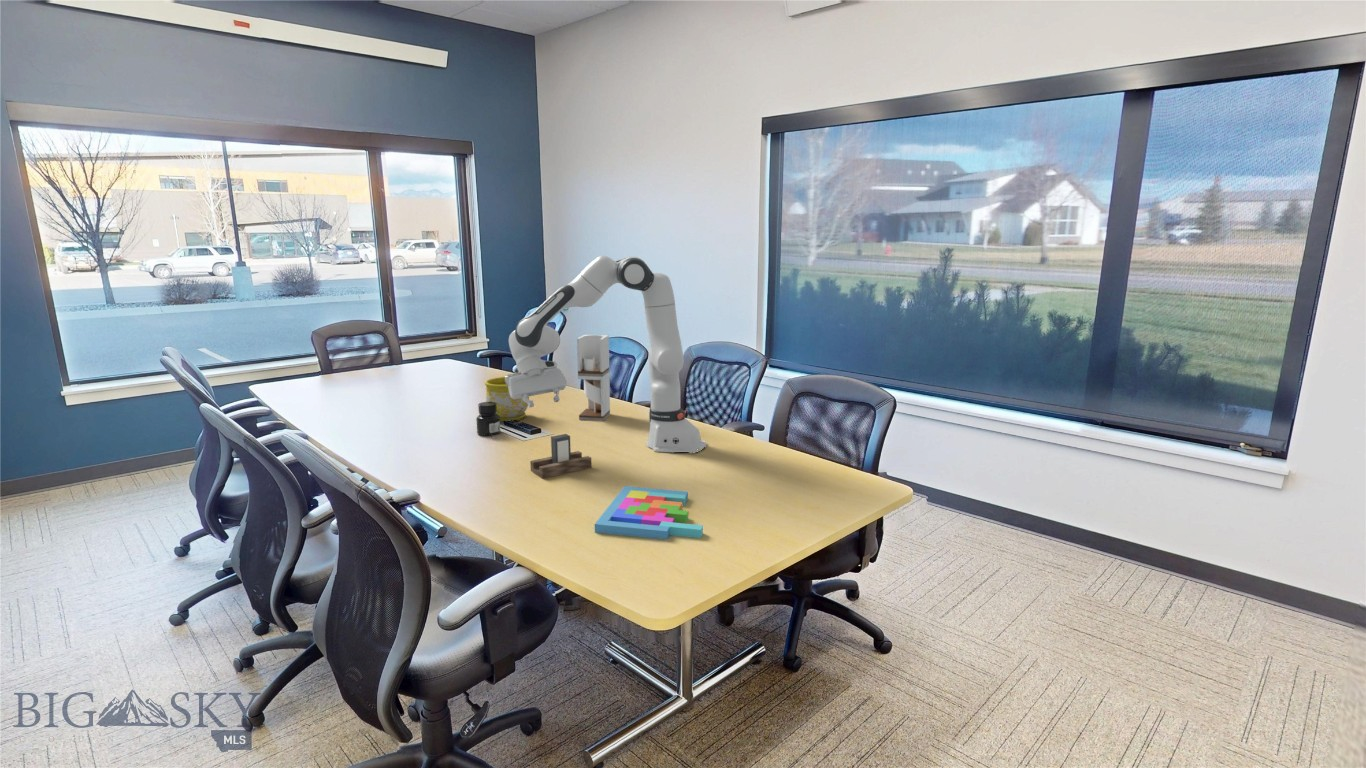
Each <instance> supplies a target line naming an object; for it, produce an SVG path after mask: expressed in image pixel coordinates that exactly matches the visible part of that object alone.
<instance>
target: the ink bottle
mask: <svg viewBox="0 0 1366 768" xmlns="http://www.w3.org/2000/svg"><path fill="white" fill-rule="evenodd" d="M477 406H478V407H477V408H478V409H477V410H478V415H477V416H476V432H477V435H479V436H482V437H483V436H485V437H486V436H489V437H490V436H495V435H498V434H500V433H501V422H500V417H499V415H497V413H496V412H497V407H496V403H495V402H486V401H482V402H479V403H478V404H477Z"/></svg>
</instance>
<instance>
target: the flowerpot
mask: <svg viewBox="0 0 1366 768" xmlns="http://www.w3.org/2000/svg"><path fill="white" fill-rule="evenodd" d="M505 377H506V376H499V377H494V378H492V377H491V378H489V379H487V380H485V381H484V386H486V387H485V391H486V392H485V402H495V403H496V407H497V412H496V413H497V415H499V417H500V423H501V422H503V421H506V420H517V421H519V420H523V419H524V418H525V416H526V415H527V414H526V411H527V409H528V408H529V406H528V404H527V403H526V402H524V401H523V399H522V398H519V399H512V398H511V397H510V393H509V389H508V385H507V384H506V382H505ZM527 398H528V399H529V400H530V396H529V397H527ZM503 423H504V422H503Z"/></svg>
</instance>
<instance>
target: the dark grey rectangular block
mask: <svg viewBox="0 0 1366 768" xmlns="http://www.w3.org/2000/svg"><path fill="white" fill-rule="evenodd" d="M550 448H551V451H550V453H551V457H552V464H553V463H558V462H562V461H567V460H571V452H572V451H571V450H572V449H571V436H570V435H569V434H567V433H564V434H558V435H553V436H550Z"/></svg>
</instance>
